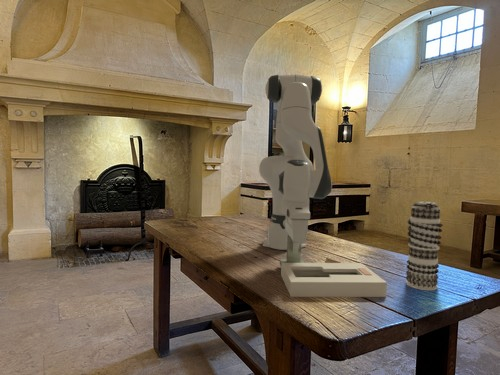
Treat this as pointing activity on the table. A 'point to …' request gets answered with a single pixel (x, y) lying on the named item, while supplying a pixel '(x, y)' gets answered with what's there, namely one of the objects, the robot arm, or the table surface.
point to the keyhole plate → (332, 280)
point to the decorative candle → (423, 246)
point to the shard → (331, 261)
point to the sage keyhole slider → (290, 255)
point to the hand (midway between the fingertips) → (293, 250)
